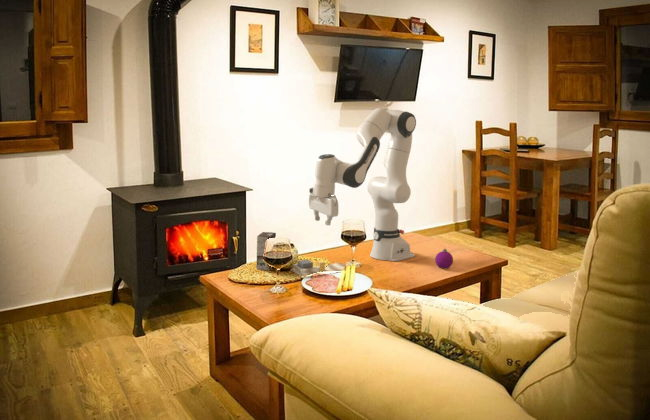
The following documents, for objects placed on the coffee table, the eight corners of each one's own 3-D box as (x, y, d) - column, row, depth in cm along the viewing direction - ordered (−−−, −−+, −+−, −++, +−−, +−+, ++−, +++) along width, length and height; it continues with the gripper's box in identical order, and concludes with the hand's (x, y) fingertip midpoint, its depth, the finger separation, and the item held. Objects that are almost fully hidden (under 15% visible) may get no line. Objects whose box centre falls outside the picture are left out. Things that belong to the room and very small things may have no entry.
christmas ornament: (446, 271, 278) (448, 250, 276) (431, 267, 283) (432, 247, 281) (455, 268, 284) (457, 247, 282) (440, 264, 289) (442, 244, 287)
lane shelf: (339, 264, 283) (339, 256, 282) (354, 272, 272) (355, 264, 271) (289, 271, 270) (290, 263, 269) (303, 280, 259) (304, 271, 258)
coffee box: (269, 272, 267) (270, 237, 264) (256, 271, 269) (256, 236, 265) (275, 266, 276) (276, 232, 273) (262, 265, 277) (262, 231, 274)
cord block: (320, 268, 273) (320, 257, 272) (325, 271, 268) (326, 260, 267) (297, 271, 267) (297, 260, 266) (302, 274, 263) (302, 263, 262)
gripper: (343, 195, 257) (340, 227, 259) (319, 187, 274) (317, 217, 276) (330, 196, 253) (328, 228, 256) (307, 188, 271) (305, 218, 273)
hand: (322, 222), depth 266 cm, fingers open, 8 cm apart
